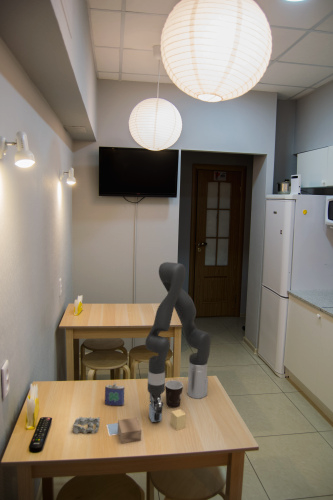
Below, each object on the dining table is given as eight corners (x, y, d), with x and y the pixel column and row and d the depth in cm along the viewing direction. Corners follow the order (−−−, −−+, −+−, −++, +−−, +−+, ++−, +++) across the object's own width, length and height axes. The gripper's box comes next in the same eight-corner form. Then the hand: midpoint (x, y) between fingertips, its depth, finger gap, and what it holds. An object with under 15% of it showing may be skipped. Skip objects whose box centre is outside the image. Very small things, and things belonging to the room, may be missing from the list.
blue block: (158, 414, 160) (159, 402, 160) (161, 420, 156) (162, 407, 155) (148, 416, 159) (149, 403, 158) (151, 422, 155) (152, 409, 154)
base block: (136, 427, 151) (136, 417, 150) (140, 441, 144) (141, 430, 143) (117, 430, 149) (118, 420, 148) (121, 444, 141) (121, 433, 140)
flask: (124, 403, 170) (125, 382, 169) (123, 406, 167) (124, 385, 166) (105, 402, 171) (105, 381, 169) (103, 405, 168) (104, 384, 166)
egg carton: (71, 434, 146) (71, 425, 146) (76, 423, 153) (76, 414, 153) (97, 435, 146) (97, 426, 146) (100, 424, 153) (100, 415, 153)
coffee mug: (173, 397, 177) (173, 378, 176) (185, 404, 171) (186, 385, 170) (155, 405, 169) (156, 386, 168) (168, 413, 163) (169, 393, 162)
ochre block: (179, 421, 158) (180, 409, 157) (185, 427, 154) (185, 414, 153) (170, 424, 155) (171, 411, 155) (176, 430, 151) (177, 417, 151)
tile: (124, 422, 155) (124, 421, 155) (127, 433, 148) (127, 432, 148) (106, 425, 153) (106, 424, 153) (109, 435, 146) (109, 435, 146)
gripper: (169, 387, 150) (168, 425, 152) (159, 372, 163) (158, 407, 165) (152, 389, 147) (151, 428, 150) (144, 373, 161) (143, 409, 163)
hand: (155, 416), depth 157 cm, fingers closed on blue block, 4 cm apart
